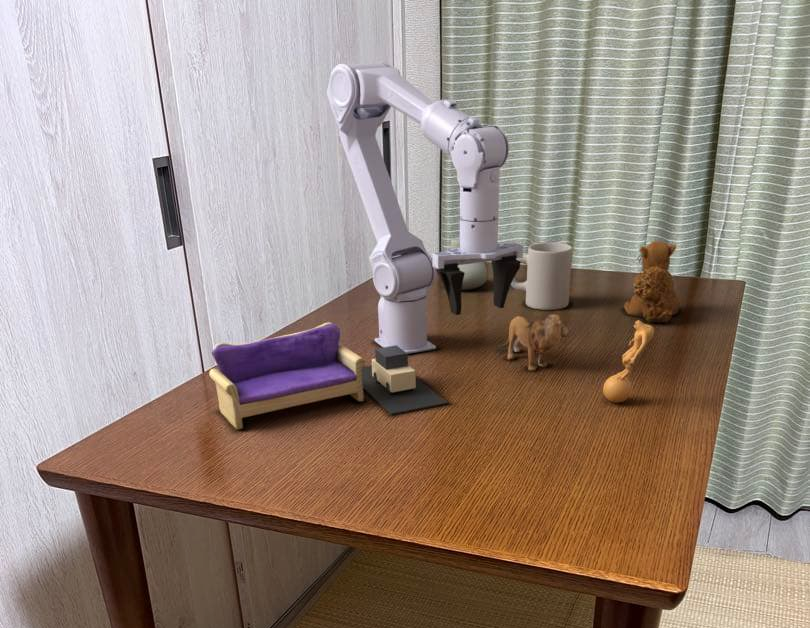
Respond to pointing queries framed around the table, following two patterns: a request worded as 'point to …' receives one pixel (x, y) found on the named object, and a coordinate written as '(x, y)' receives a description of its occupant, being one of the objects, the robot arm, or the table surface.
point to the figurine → (627, 365)
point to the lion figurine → (535, 337)
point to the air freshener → (471, 270)
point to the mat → (400, 395)
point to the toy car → (393, 369)
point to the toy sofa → (284, 372)
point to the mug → (546, 276)
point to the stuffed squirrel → (654, 285)
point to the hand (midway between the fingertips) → (477, 309)
